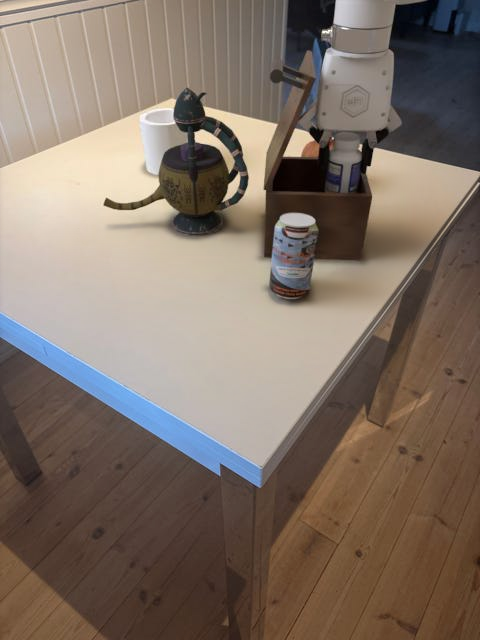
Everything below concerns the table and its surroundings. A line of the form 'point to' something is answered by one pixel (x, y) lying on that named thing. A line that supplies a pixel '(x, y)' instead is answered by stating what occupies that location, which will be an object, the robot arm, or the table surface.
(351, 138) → the pill bottle
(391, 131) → the robot arm
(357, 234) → the chest
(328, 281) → the table surface
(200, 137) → the table surface
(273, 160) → the lid
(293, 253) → the beverage can
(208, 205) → the teapot
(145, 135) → the mug
